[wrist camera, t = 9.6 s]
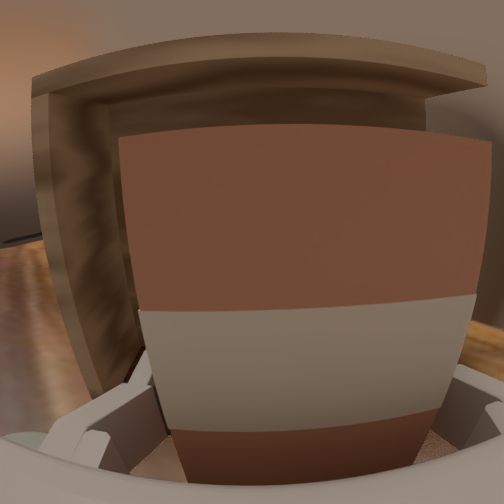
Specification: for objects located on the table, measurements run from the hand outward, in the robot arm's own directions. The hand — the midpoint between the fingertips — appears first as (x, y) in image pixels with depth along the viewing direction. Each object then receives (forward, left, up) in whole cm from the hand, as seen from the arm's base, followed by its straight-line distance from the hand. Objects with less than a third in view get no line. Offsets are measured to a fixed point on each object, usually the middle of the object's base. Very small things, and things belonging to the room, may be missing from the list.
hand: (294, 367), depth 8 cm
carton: (-1, -1, -8) cm, 8 cm away
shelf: (+8, +7, -9) cm, 14 cm away
